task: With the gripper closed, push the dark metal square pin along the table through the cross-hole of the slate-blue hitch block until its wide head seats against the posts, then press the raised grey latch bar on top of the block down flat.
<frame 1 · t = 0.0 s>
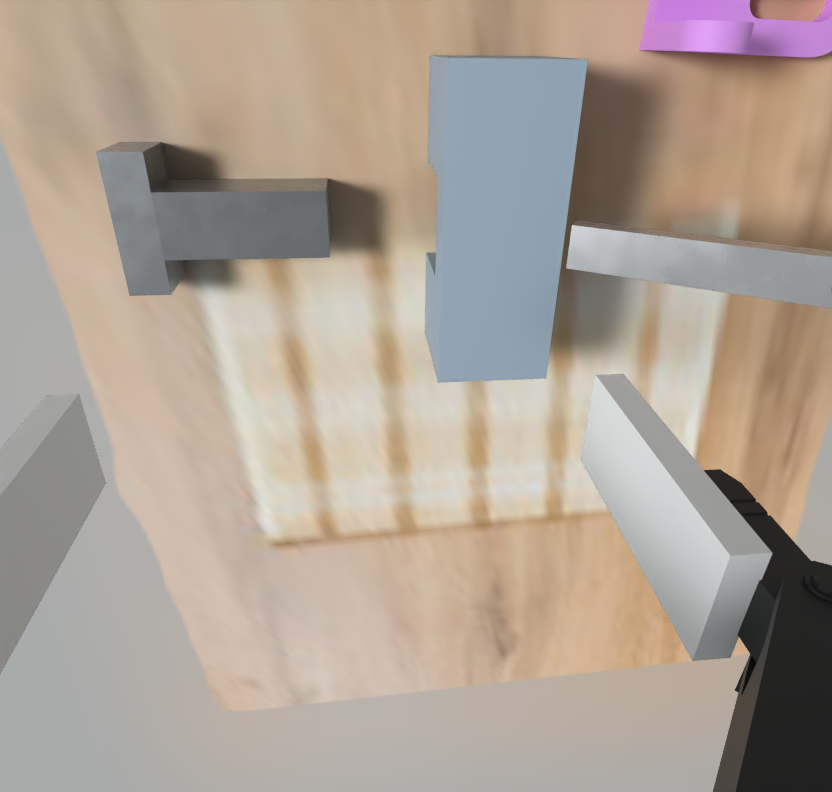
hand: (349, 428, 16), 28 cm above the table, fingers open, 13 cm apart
hitch block: (478, 208, 41), on the table
latch bar: (715, 264, 31), point 13 cm above the table, hinge at 32.0°
lynch pin: (252, 210, 40), on the table
bracket: (749, 1, 37), on the table
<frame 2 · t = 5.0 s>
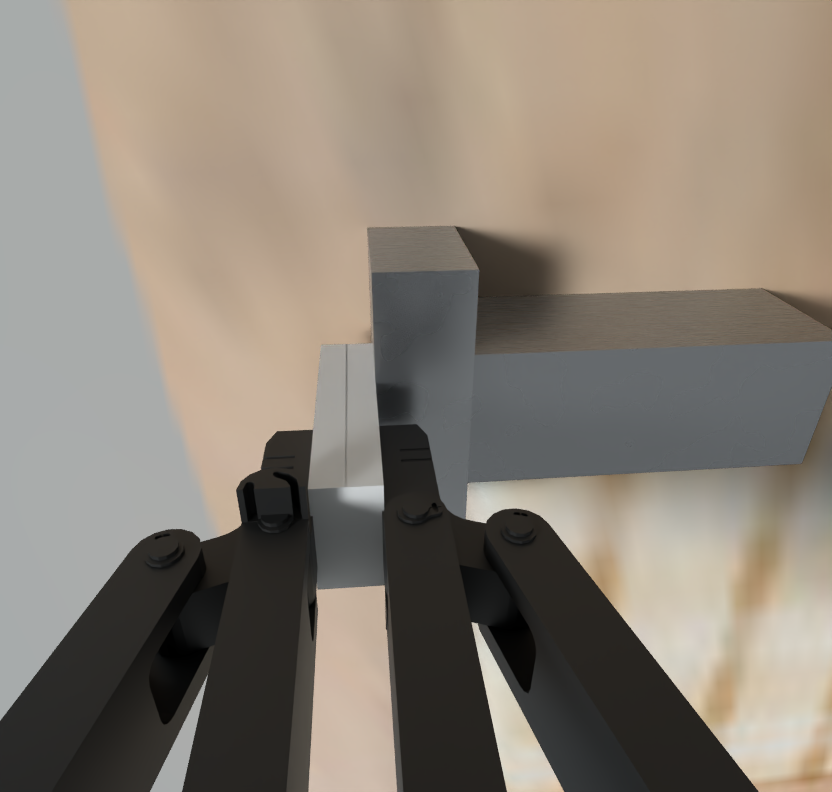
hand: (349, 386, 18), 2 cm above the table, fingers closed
lynch pin: (600, 350, 20), on the table, touching gripper
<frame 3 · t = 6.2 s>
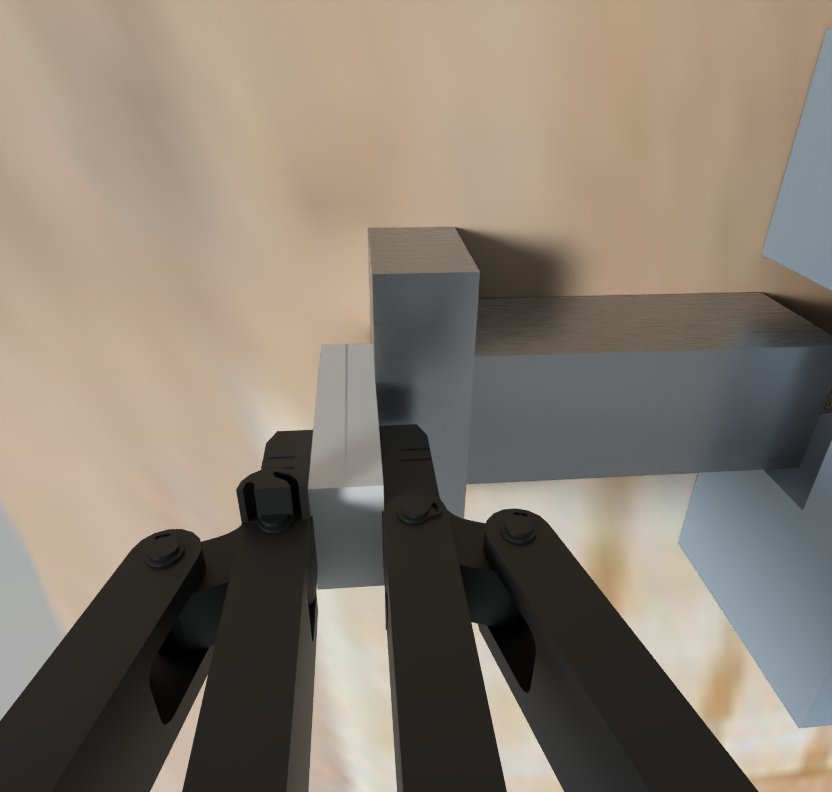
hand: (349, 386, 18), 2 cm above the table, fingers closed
lynch pin: (599, 353, 20), on the table, touching gripper
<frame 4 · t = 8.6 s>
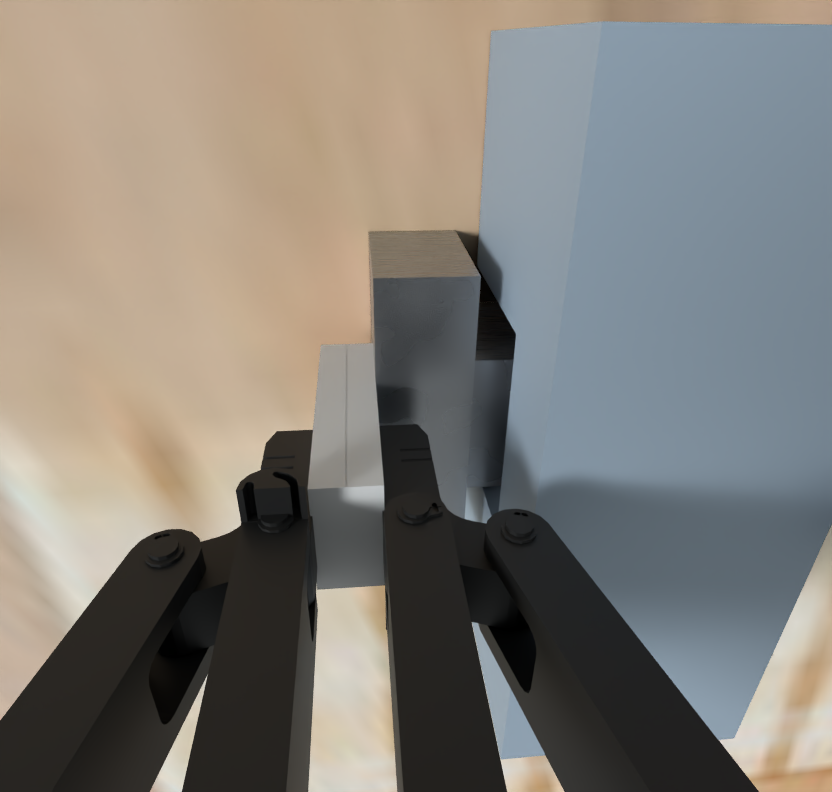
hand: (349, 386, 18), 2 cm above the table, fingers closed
hitch block: (577, 352, 20), on the table
lynch pin: (599, 356, 20), on the table, touching gripper
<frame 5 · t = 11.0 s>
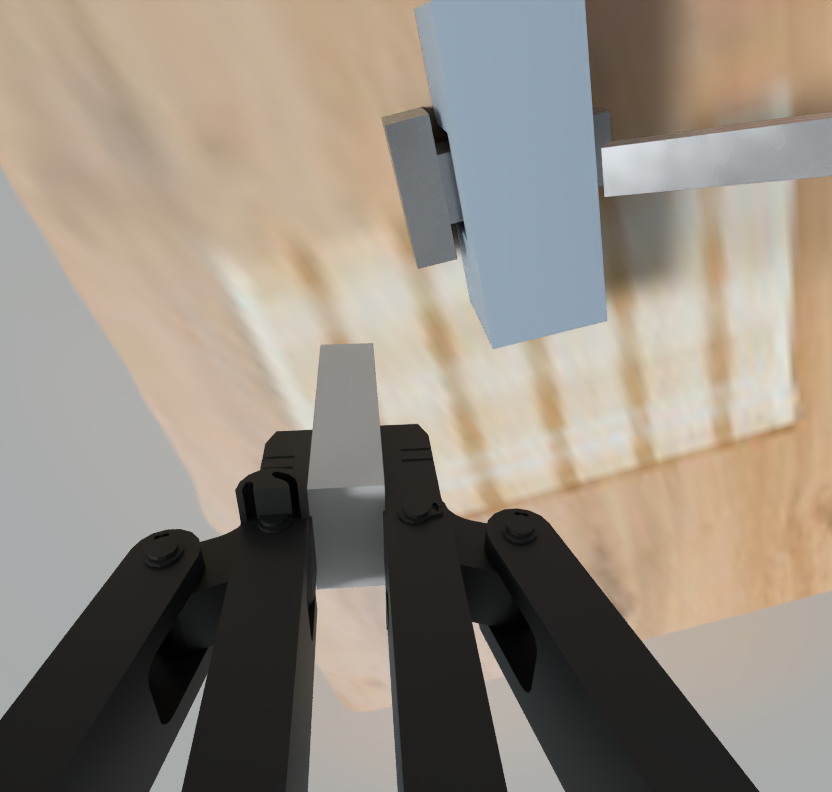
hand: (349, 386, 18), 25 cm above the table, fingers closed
hitch block: (499, 158, 39), on the table
latch bar: (773, 151, 27), point 13 cm above the table, hinge at 32.0°
lynch pin: (511, 157, 39), on the table
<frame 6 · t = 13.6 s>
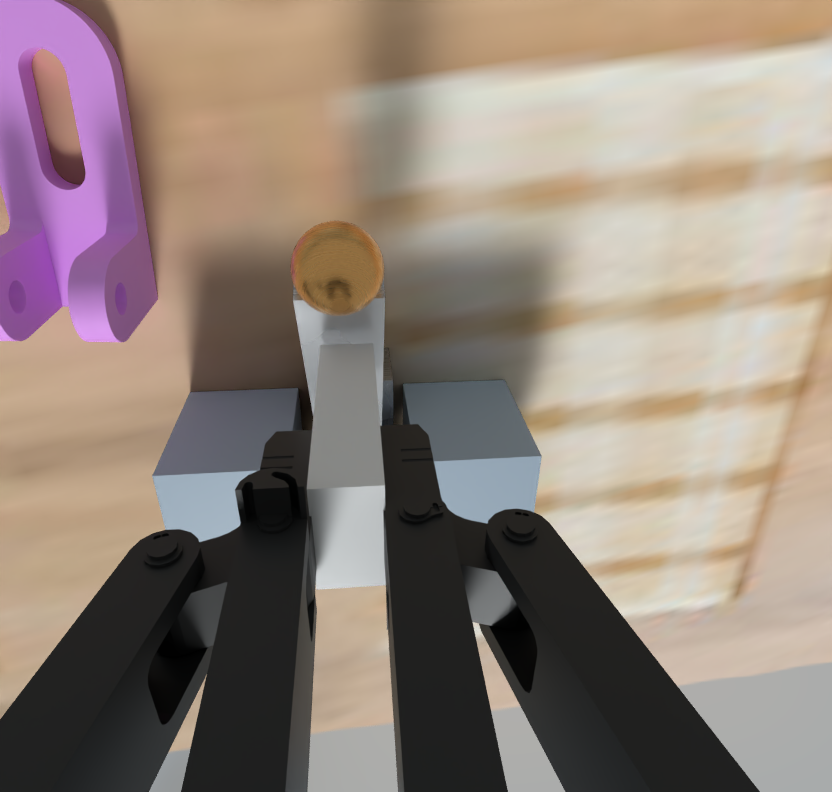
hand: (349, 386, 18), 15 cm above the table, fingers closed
hitch block: (353, 436, 37), on the table
latch bar: (346, 393, 21), point 13 cm above the table, hinge at 29.7°, touching gripper
lynch pin: (355, 424, 37), on the table
bracket: (76, 162, 28), on the table
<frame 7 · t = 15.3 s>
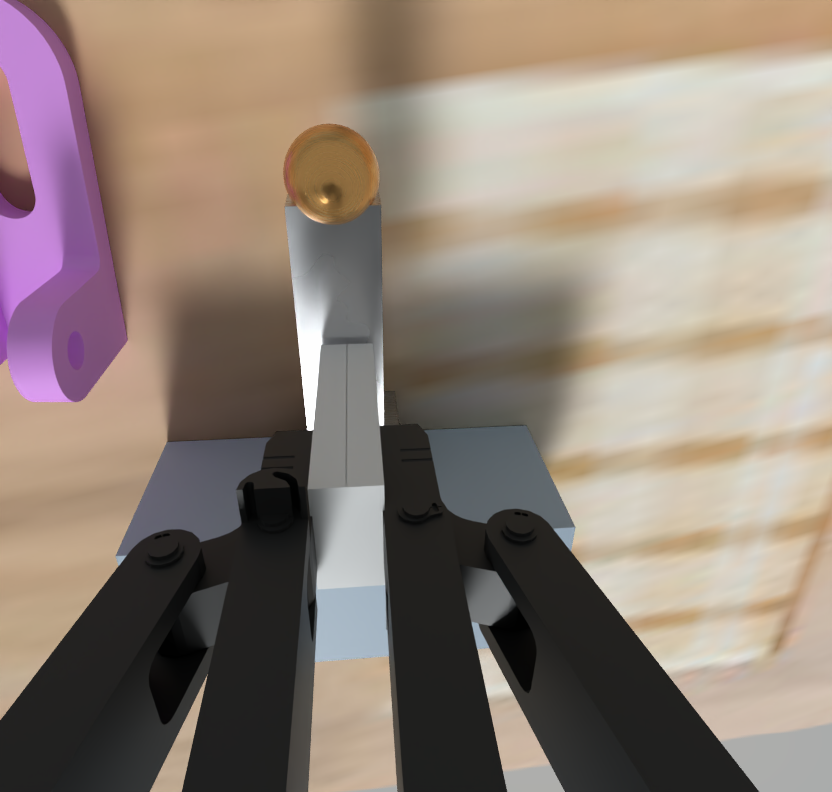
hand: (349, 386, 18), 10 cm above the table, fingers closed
hitch block: (354, 488, 33), on the table
latch bar: (343, 382, 19), point 9 cm above the table, hinge at 4.9°, touching gripper
lynch pin: (356, 474, 32), on the table
bracket: (27, 185, 24), on the table
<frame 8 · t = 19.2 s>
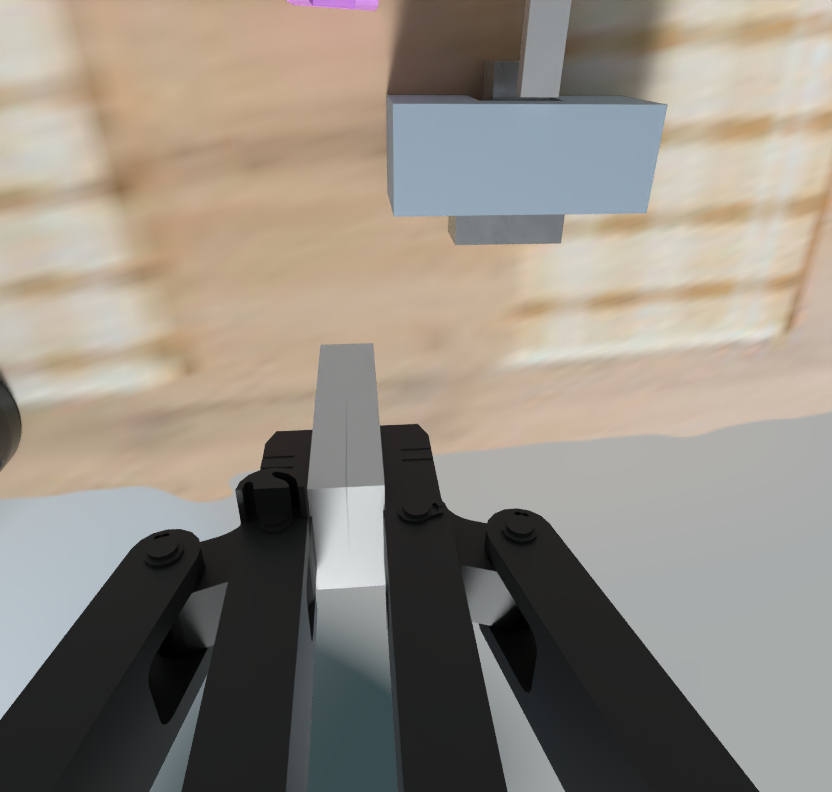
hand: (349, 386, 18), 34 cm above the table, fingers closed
hitch block: (502, 145, 48), on the table
lynch pin: (505, 133, 47), on the table
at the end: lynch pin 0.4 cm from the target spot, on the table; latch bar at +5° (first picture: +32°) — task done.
